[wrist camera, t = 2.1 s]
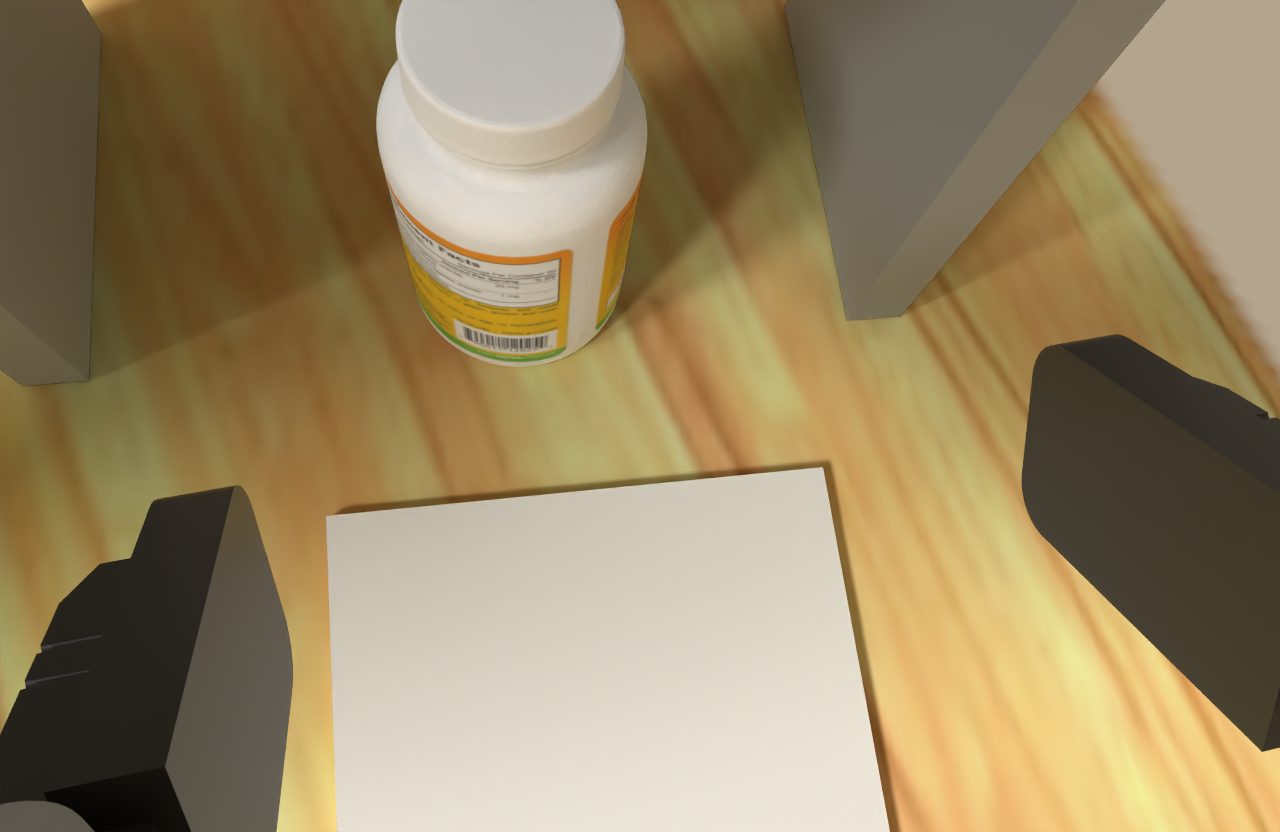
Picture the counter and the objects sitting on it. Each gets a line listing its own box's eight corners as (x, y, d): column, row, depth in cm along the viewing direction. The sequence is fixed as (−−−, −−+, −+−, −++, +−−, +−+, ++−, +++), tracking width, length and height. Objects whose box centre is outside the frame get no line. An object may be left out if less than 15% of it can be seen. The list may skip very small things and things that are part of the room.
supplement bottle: (544, 150, 28) (549, -142, 19) (662, 300, 27) (729, 68, 18) (372, 249, 27) (290, -14, 18) (490, 412, 26) (467, 221, 17)
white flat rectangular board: (346, 988, 22) (343, 993, 21) (329, 519, 25) (325, 516, 24) (897, 902, 23) (903, 904, 23) (818, 471, 26) (823, 467, 26)
